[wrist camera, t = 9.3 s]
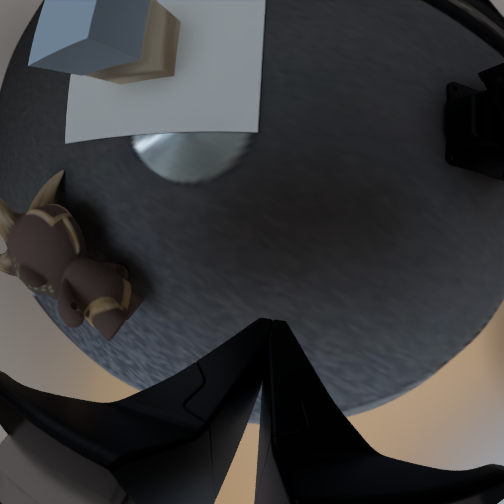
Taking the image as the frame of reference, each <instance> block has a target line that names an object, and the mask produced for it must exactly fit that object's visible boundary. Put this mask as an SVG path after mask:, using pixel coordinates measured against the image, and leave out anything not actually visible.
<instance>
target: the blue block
mask: <svg viewBox="0 0 504 504" xmlns="http://www.w3.org/2000/svg"><path fill="white" fill-rule="evenodd" d="M149 4H150V0H45V2H44V5H43V8H42V12H41V15H40V18H39V21H38V25H37V29H36V32H35V36H34V40H33V44H32V49H31V53H30V58H29V63H28V66H32V67H39V68H45V69H50V70H56V71H61V72H66V73H71V74H75V75H80V76H82V75H85V74H88V73H92V72H95V71H98V70H102V69H105V68H109V67H113V66H117V65H121V64H125V63H129V62H134V61H138V60H140V58H141V50H142V43H143V37H144V31H145V25H146V19H147V14H148V9H149Z"/></svg>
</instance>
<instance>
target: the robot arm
mask: <svg viewBox="0 0 504 504" xmlns="http://www.w3.org/2000/svg"><path fill="white" fill-rule="evenodd" d="M478 75H479V77H480V79H481V81H483V82H484V84H485V86H486V88H487V90H484V91H481V92H479V91H476V90H474V89H471V88H469V87H466V86H464V85H461V84H458V83H456V82H450V83H448V85H447V103H446V119H445V135H446V137H447V142H446V161H447V163H448V164H450V165H453V166H457V167H460V168H464V169H468V170H471V171H474V172H478V173H481V174H484V175H487V176H490V177H493V178H496V179H499V180H503V181H504V175H503V176H502V173H504V63H502V64H500V65H497V66H495V67H492V68H490V69H487V70H485V71H482V72H480V73H478ZM452 86H453V87H454V88H455V91H454V90H453V89H452ZM451 156H453V158H454V159H453V161H451ZM262 381H263V383H262ZM261 385H262V395H261V413H260V430H259V445H258V461H257V475H256V489H255V503H254V504H497V503H499V502H500V501H501V500H503V499H504V466H502V465H496V464H489V465H485V466H482V467H479V468H475V469H470V470H463V471H451V470H442V469H437V468H432V467H427V466H422V465H417V464H413V463H409V462H405V461H401V460H397V459H393V458H390V457H387V456H384V455H382V454H380V453H378V452H377V451H375V450H374V449H373V448H372V447H371V446H369V444H368V443H367V442H366V441H365V440H364V438H363V437H362V436H361V435H360V434H359V432H358V431H357V430H356V429H355V428H354V426H353V425H352V424H351V423H350V422H349V421H348V419H347V418H346V417H345V416H344V414H343V413H342V412H341V410H340V409H339V408H338V406H337V405H336V404H335V403H334V401H333V400H332V398H331V396H330V395H329V393H328V392H327V390H326V389H325V387H324V385H323V383H322V382H321V380H320V378H319V377H318V375H317V373H316V372H315V370H314V368H313V367H312V365H311V363H310V361H309V360H308V358H307V356H306V355H305V353H304V351H303V349H302V348H301V346H300V344H299V343H298V341H297V339H296V337H295V336H294V334H293V332H292V331H291V329H290V327H289V325H288V324H287V322H286V321H282V320H273V321H272V320H271V319H267V318H259V319H257V320H256V321H255V322H253V323H252V324H250V325H249V326H247V327H246V328H245V329H243V330H242V331H240V332H239V333H238V334H236V335H235V336H233V337H232V338H230V339H229V340H227V341H226V342H225V343H223V344H222V345H220V346H219V347H217V348H216V349H214V350H213V351H211V352H210V353H208V354H207V355H205V356H204V357H202V358H201V359H199V360H198V361H197V362H195V363H193V364H192V365H190V366H189V367H187V368H185V369H184V370H182V371H180V372H179V373H177V374H175V375H174V376H172V377H170V378H168V379H166V380H164V381H162V382H160V383H158V384H156V385H153V386H151V387H149V388H147V389H145V390H143V391H140V392H138V393H136V394H134V395H131V396H129V397H127V398H125V399H122V400H119V401H115V402H110V403H98V402H92V401H85V400H80V399H75V398H69V397H65V396H60V395H55V394H51V393H47V392H42V391H39V390H35V389H32V388H29V387H27V386H24V385H22V384H20V383H18V382H16V381H15V380H13V379H12V378H11V377H9V376H8V375H7V374H5V373H4V372H1V371H0V425H1V426H2V427H3V429H4V430H5V431H6V432H7V434H8V435H7V437H6V438H5V439H4V440H3V441H2V442H1V443H0V504H214V502H215V499H216V498H217V495H218V493H219V491H220V488H221V486H222V484H223V482H224V479H225V477H226V475H227V472H228V470H229V468H230V465H231V463H232V460H233V458H234V456H235V453H236V451H237V448H238V445H239V443H240V441H241V438H242V436H243V433H244V430H245V428H246V425H247V423H248V420H249V418H250V415H251V413H252V410H253V407H254V405H255V402H256V399H257V397H258V394H259V391H260V388H261Z"/></svg>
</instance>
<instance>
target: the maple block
mask: <svg viewBox="0 0 504 504" xmlns="http://www.w3.org/2000/svg"><path fill="white" fill-rule="evenodd" d="M180 23H181V22H180V21H179V20H178V19H177V18H176V17H175V16H174V15H173V14H171V13H170V12H169V11H168V10H167V9H166V8H164V7H163V6H162V5H161V4H160V3H159V2H157V1H156V0H150V4H149V9H148V14H147V19H146V25H145V31H144V37H143V43H142V50H141V58H140V60H138V61H134V62H129V63H125V64H121V65H117V66H113V67H109V68H105V69H102V70H98V71H95V72H92V73H88V74H85V76H89V77H93V78H97V79H101V80H105V81H109V82H112V83H116V84H120V85H122V84H127V83H132V82H138V81H143V80H150V79H156V78H163V77H171V76H174V73H175V63H176V54H177V46H178V38H179V30H180Z"/></svg>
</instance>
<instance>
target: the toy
mask: <svg viewBox="0 0 504 504" xmlns="http://www.w3.org/2000/svg"><path fill="white" fill-rule="evenodd" d="M63 174H64V170H62V171H60V172H58V173H57V174H56V175H54V176H53V177H52V178H51V179H49V180H48V181H47V183H46V184H45V185H44V186H43V187H42V188H41V189H40V191H39V192H38V194H37V195H36V197H35V199H34V200H33V202H32V204H31V206H30V209H29V211H28V212H27V213H24V214H19V213H16V212H15V211H13V210H11V209H10V208H9V207H8V206H7V205H6V204H5V203H4V202H3V201H2V200H1V198H0V235H1V236H2V238H3V239H4V240H5V241H6V243H7V245H8V249H7V251H6V252H5V253H3V254H0V271H3V272H5V273H7V274H9V275H13V276H16V277H19V279H20V280H21V281H22V282H23V283H24V284H25V285H26V286H27V287H28V289H29V291H30V293H31V294H32V295H33V296H38V295H41V294H46V295H48V296H50V297H51V298H53V299H58V309H59V313H60V315H61V318H62V320H63V321H64V323H65V324H66V325H67V326H69V327H78V326H80V325H81V324H82V323H83V321H84V318H85V319H86V320H87V321H88V322H89V323H90V324H91V325H92V326H93V327H95V328H97V329H98V330H99V332H100V333H101V334H102V335H103V336H104V337H105V338H106V340H108V341H110V340H111V339H112V338H113V337H114V336H115V334H116V333H117V332H118V331H119V329H120V328H121V326H122V325H123V324H124V322H125V321H126V320H128V319H129V318H130V317H131V315H132V314H133V313H134V312H135V311H136V309H137V308H138V307H139V305H140V304H141V303H142V301H143V300H144V298H143V296H141V295H140V294H138V293H137V292H135V291H134V290H132V289H131V285H130V283H129V282H128V278H129V273H128V271H127V269H126V268H125V267H123V266H121V265H119V264H115V263H111V262H95V261H93V260H91V259H89V258H87V256H88V249H87V246H86V245H85V239H84V235H83V233H82V230H81V228H80V226H79V225H78V223H77V221H76V220H75V219H74V218H73V217H72V215H71V214H70V212H69V211H68V210H67V209H66V208H64V207H62V206H61V205H58V204H54V198H55V194H56V191H57V188H58V186H59V183H60V181H61V178H62V176H63ZM76 310H78V311H76Z"/></svg>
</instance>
